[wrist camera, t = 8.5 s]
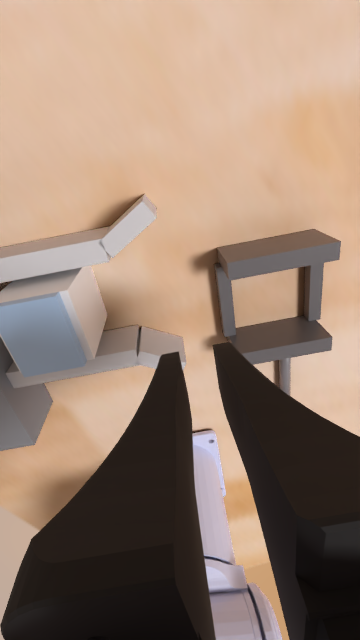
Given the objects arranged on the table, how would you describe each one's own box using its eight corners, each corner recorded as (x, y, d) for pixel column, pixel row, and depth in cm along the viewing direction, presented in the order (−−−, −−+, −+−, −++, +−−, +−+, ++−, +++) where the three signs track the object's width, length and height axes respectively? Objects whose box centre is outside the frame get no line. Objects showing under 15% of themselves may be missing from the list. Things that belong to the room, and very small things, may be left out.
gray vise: (310, 391, 25) (329, 419, 22) (231, 405, 25) (240, 435, 22) (319, 227, 18) (346, 240, 16) (212, 248, 18) (221, 264, 16)
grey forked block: (190, 376, 23) (197, 422, 19) (15, 408, 23) (-14, 460, 19) (141, 135, 15) (136, 128, 11) (-119, 188, 16) (-214, 199, 12)
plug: (107, 314, 20) (92, 365, 15) (49, 325, 20) (16, 378, 15) (88, 257, 18) (64, 294, 13) (24, 270, 18) (-23, 311, 14)
